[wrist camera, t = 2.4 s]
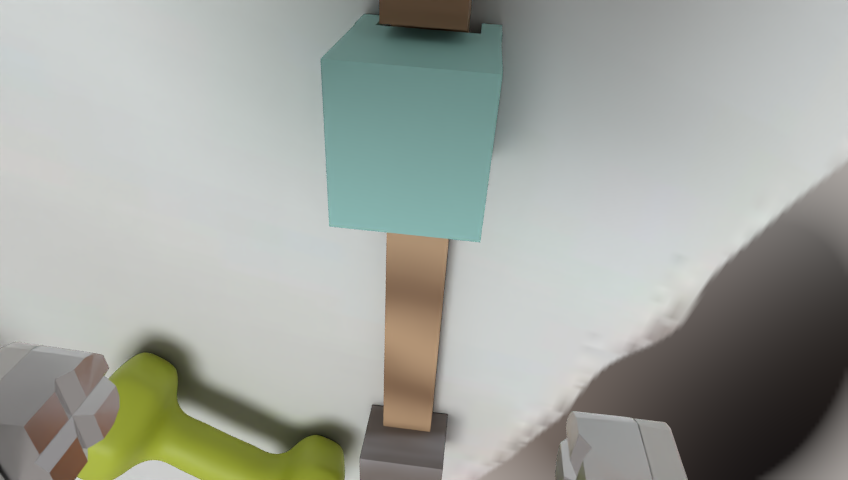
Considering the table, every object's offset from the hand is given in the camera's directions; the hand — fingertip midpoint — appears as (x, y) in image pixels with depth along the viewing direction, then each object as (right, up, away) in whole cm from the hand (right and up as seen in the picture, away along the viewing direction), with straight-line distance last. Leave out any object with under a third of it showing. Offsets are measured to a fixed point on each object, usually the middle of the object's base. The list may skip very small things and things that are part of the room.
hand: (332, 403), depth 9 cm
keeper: (+2, +9, +14) cm, 17 cm away
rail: (+1, +2, +19) cm, 20 cm away
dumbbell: (-11, -9, +29) cm, 32 cm away
